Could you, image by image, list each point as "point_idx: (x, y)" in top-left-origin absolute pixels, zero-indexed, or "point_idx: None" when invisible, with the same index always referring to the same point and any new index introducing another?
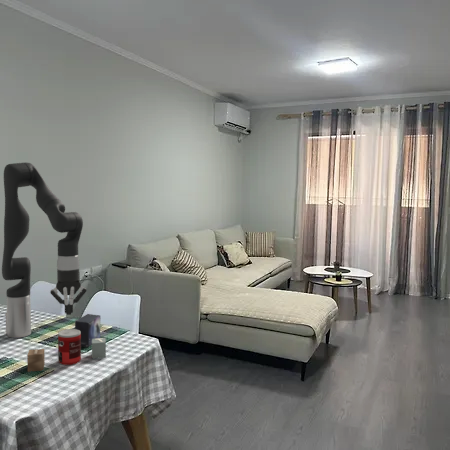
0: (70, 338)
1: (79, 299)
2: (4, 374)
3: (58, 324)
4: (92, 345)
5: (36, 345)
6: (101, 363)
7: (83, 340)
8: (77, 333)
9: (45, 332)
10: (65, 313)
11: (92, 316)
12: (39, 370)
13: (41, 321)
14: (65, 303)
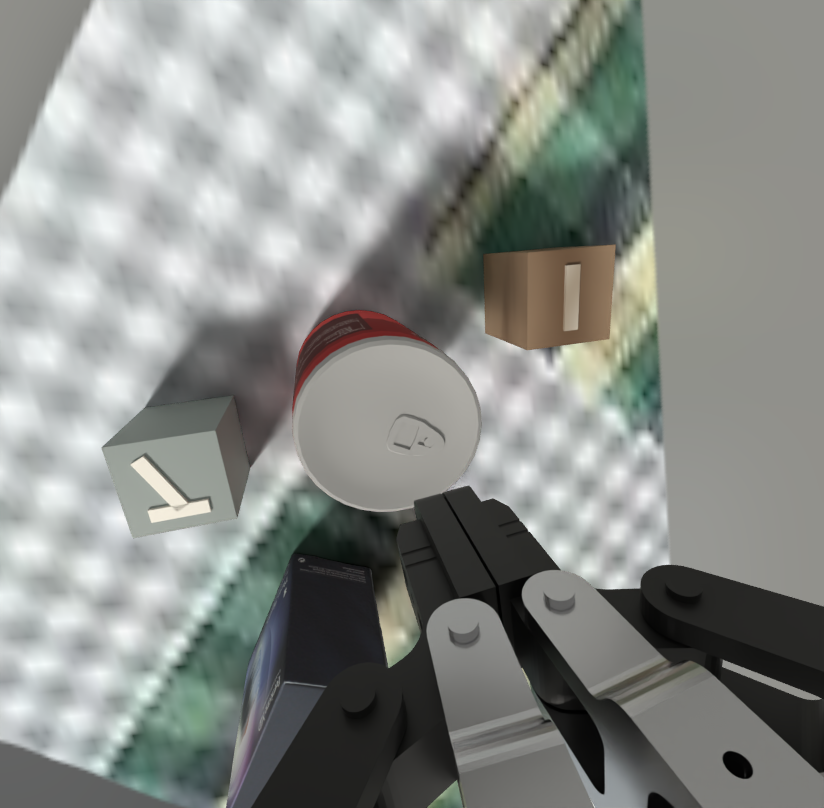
0: (365, 335)
1: (281, 769)
2: (653, 231)
3: None
4: (214, 425)
5: None
6: (150, 314)
7: (321, 582)
8: (316, 410)
9: None
10: (491, 499)
11: None
12: (501, 252)
13: None
14: (578, 592)
